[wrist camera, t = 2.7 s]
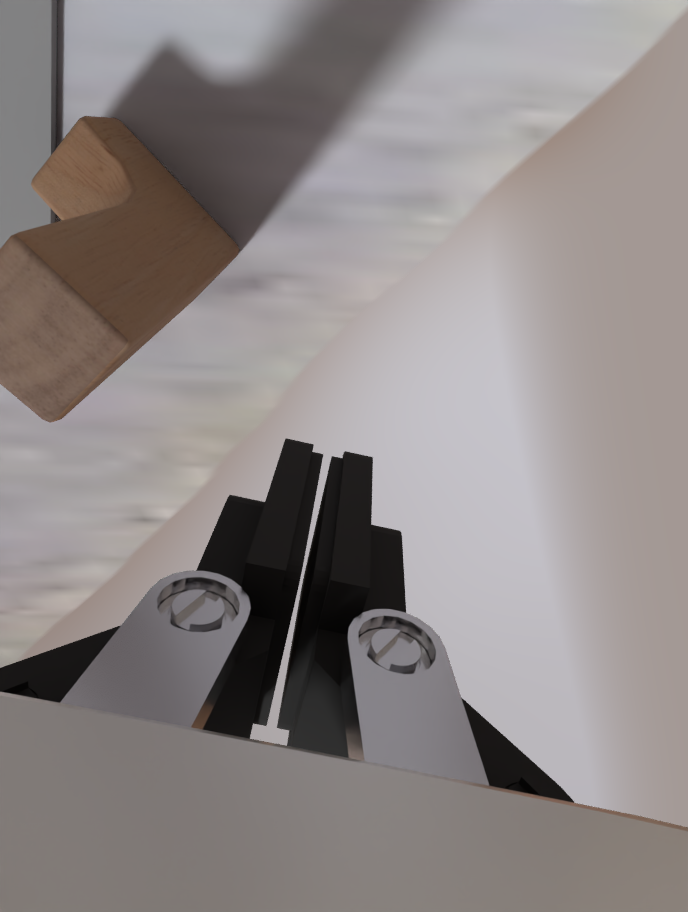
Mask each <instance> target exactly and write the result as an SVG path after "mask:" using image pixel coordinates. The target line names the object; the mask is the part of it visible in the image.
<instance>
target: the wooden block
mask: <svg viewBox="0 0 688 912" xmlns="http://www.w3.org/2000/svg"><path fill="white" fill-rule="evenodd" d="M31 186H32V188H33V189H34V190H35V192H36V193H37V194H38V195H39V196H40V197H41V198H42V199H43V200H44V201H45V203H46V204H47V205H48V206H49V207H50V208H51V209H52V210H53V211H54V212H55V214H56V215H57V216H58V217H59V218H60V219H61V220H62V221H59V222H55V223H51V224H47V225H44V226H40V227H36V228H33V229H29V230H25V231H21V232H18V233H16V234H14V235H11V236H10V237H9V239H8V240H7V241H6V242H5V244H4V245H3V246H2V247H1V249H0V384H1V385H3V386H4V387H5V388H6V389H7V390H8V391H10V392H11V393H12V394H13V395H14V396H16V397H17V398H18V399H19V400H20V401H22V402H23V403H24V404H25V405H26V406H28V407H29V408H30V409H31V410H32V411H33V412H35V413H36V414H37V415H38V416H39V417H41V418H42V419H43V420H46V421H48V422H54V421H57V420H60V419H62V418H63V417H64V416H65V415H66V414H68V413H69V412H70V411H71V410H72V409H73V408H74V407H75V406H76V405H78V404H79V403H80V402H81V401H82V400H83V399H84V398H85V397H86V396H88V395H89V394H90V393H91V392H92V391H93V390H94V389H95V388H96V387H98V386H99V385H100V384H101V383H102V382H103V381H104V380H105V379H106V378H108V377H109V376H110V375H111V374H112V373H113V372H114V371H115V370H116V369H118V368H119V367H120V366H121V365H122V364H123V363H124V362H125V361H126V360H128V359H129V358H130V357H131V356H132V355H133V354H134V353H135V352H136V351H138V350H139V349H140V348H141V347H142V346H143V345H144V344H145V343H146V342H148V341H149V340H150V339H151V338H152V337H153V336H154V335H155V334H156V333H158V332H159V331H160V330H161V329H162V328H163V327H164V326H165V325H166V324H168V323H169V322H170V321H171V320H172V319H173V318H174V317H175V316H176V315H178V314H179V313H180V312H181V311H182V310H183V309H184V308H185V307H187V306H188V305H189V304H190V303H191V302H192V301H193V300H194V299H195V298H196V297H197V296H198V295H199V294H200V293H201V292H202V291H203V290H204V289H205V288H206V287H207V286H208V285H209V284H210V283H211V282H212V281H213V280H214V279H215V278H216V277H217V276H218V275H219V274H220V273H221V272H222V271H223V270H224V269H225V268H226V267H227V265H228V264H229V263H230V262H231V261H232V260H233V259H234V258H235V257H236V256H237V255H238V252H239V248H238V246H237V244H236V243H235V242H234V241H233V240H232V239H231V238H230V237H229V236H228V234H227V233H226V232H225V231H224V230H223V229H222V228H221V227H220V226H219V225H218V224H217V223H216V222H215V221H214V220H213V219H212V217H211V216H210V215H209V214H208V213H207V212H206V211H205V210H204V209H203V208H202V207H201V206H200V205H199V204H198V203H197V201H196V200H195V199H194V198H193V197H192V196H191V195H190V194H189V193H188V192H187V191H186V190H185V189H184V188H183V187H182V186H181V184H180V183H179V182H178V181H177V180H176V179H175V178H174V177H173V176H172V175H171V174H170V173H169V172H168V171H167V170H166V169H165V167H164V166H163V165H162V164H161V163H160V162H159V161H158V160H157V159H156V158H155V157H154V156H153V155H152V154H151V153H150V152H149V151H148V149H147V148H146V147H145V146H144V145H143V144H142V143H141V142H140V141H139V140H138V139H137V138H136V137H135V136H134V135H133V134H132V132H131V131H130V130H129V129H128V128H127V127H126V126H125V125H124V124H123V123H122V122H121V121H120V120H118V119H116V118H106V117H91V116H84V117H82V118H80V119H79V120H78V121H77V123H76V124H75V125H74V126H73V128H72V129H71V130H70V132H69V133H68V134H67V135H66V137H65V138H64V139H63V140H62V142H61V143H60V144H59V146H58V147H57V148H56V149H55V151H54V152H53V153H52V155H51V156H50V157H49V158H48V160H47V161H46V162H45V163H44V165H43V166H42V167H41V169H40V170H39V171H38V172H37V174H36V175H35V176H34V178H33V179H32V182H31Z"/></svg>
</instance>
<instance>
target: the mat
mask: <svg viewBox="0 0 688 912" xmlns="http://www.w3.org/2000/svg"><path fill="white" fill-rule="evenodd" d="M56 90H57V0H0V249H1V247H2V246H3V245H4V244H5V242H6V241H7V240H8V239H9V237H10V236H11V235H14V234H16V233H18V232H21V231H25V230H29V229H33V228H36V227H40V226H44V225H47V224H51V223H55V219H56V214H55V212H54V211H53V210H52V209H51V208H50V207H49V206H48V205H47V204H46V203H45V201H44V200H43V199H42V198H41V197H40V196H39V195H38V194H37V193H36V192H35V190H34V189H33V188H32V186H31V182H32V179H33V178H34V176H35V175H36V174H37V172H38V171H39V170H40V169H41V167H42V166H43V165H44V163H45V162H46V161H47V160H48V158H49V157H50V156H51V155H52V153H53V152H54V151H55V149H56Z"/></svg>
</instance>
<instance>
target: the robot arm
mask: <svg viewBox="0 0 688 912" xmlns="http://www.w3.org/2000/svg"><path fill="white" fill-rule="evenodd" d="M312 450H313V444H309V443H304V442H300V441H295V440H290V439H285V442H284V445H283V448H282V451H281V455H280V458H279V461H278V464H277V467H276V470H275V473H274V476H273V480H272V483H271V486H270V489H269V492H268V495H267V498H266V501H265V502H261V501H257V500H251V499H247V498H242V497H238V496H232V495H230V496H229V497H228V499H227V501H226V503H225V506H224V508H223V510H222V512H221V515H220V517H219V519H218V522H217V524H216V526H215V529H214V531H213V533H212V536H211V538H210V540H209V543H208V545H207V547H206V549H205V552H204V554H203V557H202V559H201V561H200V563H199V566H198V568H197V570H196V571H184V572H179V573H175V574H172V575H169V576H167V577H165V578H163V579H161V580H159V581H158V582H157V583H156V584H155V585H154V586H153V587H152V588H151V589H150V590H149V591H148V592H147V594H146V595H145V596H144V597H143V599H142V600H141V601H140V602H139V604H138V605H137V606H136V607H135V609H134V610H133V611H132V612H131V614H130V615H129V616H128V618H127V619H126V620H125V621H124V623H123V624H122V625H121V626H118V627H115V628H112V629H110V630H107V631H104V632H101V633H98V634H95V635H93V636H90V637H87V638H84V639H81V640H78V641H75V642H73V643H70V644H67V645H64V646H61V647H58V648H56V649H53V650H50V651H47V652H44V653H41V654H39V655H36V656H33V657H30V658H27V659H24V660H22V661H19V662H16V663H13V664H10V665H7V666H4V667H2V668H0V912H688V827H683V826H679V825H675V824H671V823H667V822H663V821H658V820H654V819H650V818H646V817H642V816H637V815H632V814H627V813H621V812H617V811H612V810H607V809H602V808H597V807H592V806H587V805H583V804H578V803H574V801H573V800H572V799H571V798H570V797H569V796H568V795H567V794H566V792H565V791H564V790H563V789H562V788H561V787H560V786H559V785H558V784H557V783H556V782H555V781H553V780H552V779H551V778H550V777H549V776H548V775H547V774H546V773H545V772H543V771H542V770H541V769H540V768H539V767H538V766H537V765H536V764H535V763H533V762H532V761H531V760H530V759H529V758H528V757H527V756H526V755H524V754H523V753H522V752H521V751H520V750H519V749H518V748H517V747H516V746H514V745H513V744H512V743H511V742H510V741H509V740H508V739H507V738H506V737H505V736H503V735H502V734H501V733H500V732H499V731H498V730H497V729H496V728H494V727H493V726H492V725H491V724H490V723H489V722H488V721H487V720H486V719H484V718H483V717H482V716H481V715H480V714H479V713H478V712H477V711H476V710H474V709H473V708H472V707H471V706H470V705H469V704H468V703H467V702H466V701H465V700H463V699H462V698H461V695H460V693H459V689H458V686H457V683H456V680H455V677H454V674H453V671H452V667H451V664H450V661H449V658H448V655H447V652H446V649H445V647H444V645H443V643H442V641H441V639H440V637H439V636H438V635H437V634H436V632H435V631H434V630H433V629H432V628H431V627H430V626H428V625H427V624H426V623H424V622H423V621H421V620H420V619H418V618H416V617H414V616H412V615H410V614H407V613H406V605H405V604H406V603H405V586H404V569H403V549H402V535H401V532H400V531H398V530H393V529H388V528H384V527H379V526H374V525H371V506H372V464H373V458H372V457H368V456H364V455H359V454H354V453H350V452H344V454H343V458H338V457H332V458H331V462H330V466H329V471H328V476H327V480H326V484H325V488H324V492H323V496H322V501H321V505H320V510H319V514H318V518H317V522H316V527H315V531H314V535H313V539H312V544H311V548H310V552H309V557H308V562H307V565H306V570H305V574H304V579H303V584H302V589H301V595H300V600H299V606H298V612H297V617H296V623H295V629H294V634H293V640H292V646H291V651H290V657H289V662H288V668H287V674H286V680H285V685H284V692H283V697H282V703H281V708H280V713H279V719H278V725H277V728H280V729H285V730H290V731H289V737H288V744H287V746H285V745H280V744H274V743H269V742H264V741H259V740H254V739H250V734H251V730H252V725H253V723H254V724H259V725H264V726H266V725H267V721H268V717H269V712H270V708H271V704H272V699H273V695H274V691H275V686H276V682H277V678H278V673H279V669H280V665H281V660H282V656H283V652H284V647H285V643H286V638H287V634H288V629H289V625H290V621H291V616H292V612H293V608H294V604H295V599H296V595H297V590H298V586H299V581H300V576H301V572H302V567H303V562H304V556H305V551H306V545H307V540H308V534H309V529H310V523H311V518H312V512H313V507H314V501H315V496H316V491H317V485H318V480H319V474H320V469H321V463H322V458H323V454H319V453H315V452H312Z"/></svg>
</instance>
